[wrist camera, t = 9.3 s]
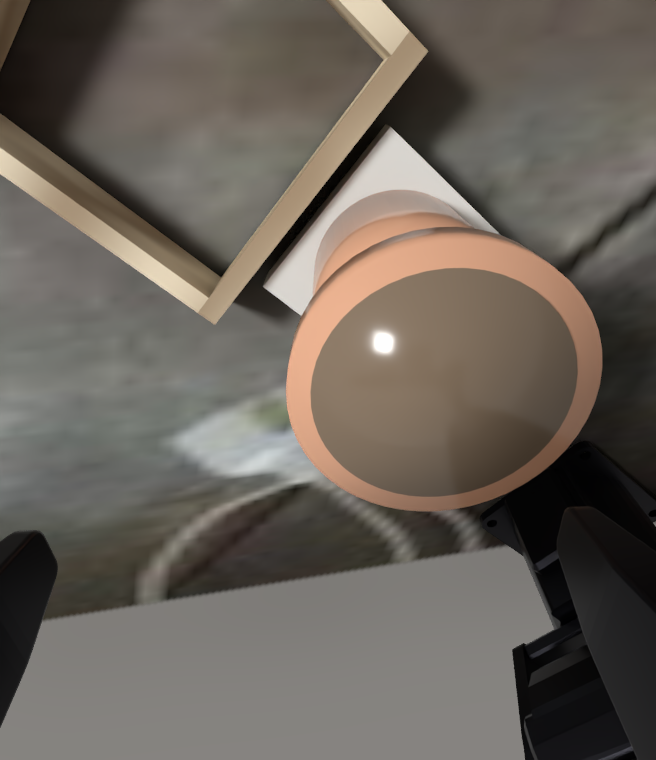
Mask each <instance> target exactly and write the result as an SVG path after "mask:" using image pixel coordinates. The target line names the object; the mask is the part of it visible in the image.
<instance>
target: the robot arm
mask: <svg viewBox="0 0 656 760" xmlns="http://www.w3.org/2000/svg"><path fill="white" fill-rule="evenodd" d="M586 451H587V452H586ZM583 452H586V453H585V454H582V455H581V453H583ZM490 520H492V521H490ZM654 521H656V499H655V498H654V497H652V496H651V495H650V494H649V493H648V492H647V491H645V490H644V489H643V488H642V487H641V486H640V485H638V484H637V483H636V482H635V481H634V480H633V479H631V478H630V477H629V476H628V475H627V474H626V473H624V472H623V471H622V470H621V469H620V468H619V467H617V466H616V465H615V464H614V463H613V462H612V461H610V460H609V459H608V458H607V457H606V456H605V455H603V454H602V453H601V452H600V451H599V450H598V449H596V448H595V447H594V446H593V445H592V444H590V443H588V442H579V443H577V444H575V445H574V446H573V447H571V448H570V449H569V450H567V451H566V452H564V453H563V454H562V455H560V456H559V457H558V458H557V459H556V460H555V461H554V462H553V463H552V464H551V465H550V466H549V467H547V468H546V469H545V470H544V471H542V472H541V473H540V474H539V475H537V476H536V477H534V478H533V479H531V480H530V481H528V482H527V483H525V484H523V485H522V486H520V487H518V488H516V489H515V490H513V491H512V492H511V493H509V494H508V495H507V496H505V497H504V498H503V499H501V500H500V501H499V502H497V503H496V504H494V505H493V506H492V507H490V508H489V509H488V510H486V511H485V512H484V513H483V514H482V515H481V516H480V522H481V525H482V527H483V528H484V529H485V530H486V531H488V532H489V533H491V534H492V535H494V536H495V537H496V538H498V539H499V540H501V541H502V542H504V543H505V544H507V545H508V546H509V547H511V548H513V549H514V550H515V551H517V552H518V553H520V554H521V555H522V556H524V558H525V561H526V563H527V565H528V568H529V570H530V572H531V575H532V577H533V579H534V582H535V584H536V586H537V589H538V591H539V594H540V596H541V598H542V601H543V603H544V606H545V608H546V610H547V613H548V615H549V617H550V620H551V622H552V625H553V627H554V630H552V631H551V632H549V633H547V634H545V635H543V636H541V637H539V638H538V639H536V640H534V641H532V642H530V643H528V644H524V643H523V644H521V645H519V646H517V647H516V648H514V649H513V650H512V652H513V661H514V669H515V678H516V688H517V697H518V706H519V715H520V724H521V733H522V740H523V745H524V753H525V760H656V527H655V525H654V524H653V522H654ZM57 570H58V566H57V561H56V559H55V556H54V554H53V552H52V550H51V548H50V546H49V544H48V542H47V540H46V538H45V536H44V534H43V533H42V532H40V531H37V530H29V531H17V532H14V533H12V534H10V535H9V536H7V537H6V538H4V539H3V540H2V541H0V727H1V725H2V723H3V720H4V718H5V716H6V713H7V711H8V709H9V707H10V704H11V702H12V699H13V697H14V695H15V693H16V690H17V688H18V686H19V683H20V681H21V678H22V676H23V674H24V671H25V669H26V667H27V664H28V661H29V659H30V656H31V653H32V650H33V647H34V644H35V641H36V638H37V635H38V632H39V629H40V626H41V623H42V620H43V616H44V613H45V610H46V607H47V604H48V601H49V598H50V595H51V592H52V589H53V586H54V583H55V579H56V576H57Z"/></svg>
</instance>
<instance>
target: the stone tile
mask: <svg viewBox="0 0 656 760" xmlns="http://www.w3.org/2000/svg"><path fill="white" fill-rule="evenodd" d="M389 190H413V191H419V192H422V193H426V194H429V195H431V196H433V197H436V198H438V199H440V200H441V201H443V202H444V203H446V204H447V205H449V206H450V207H451V208H452V209H453V210H455V211H456V212H457V213H458V214H459V215H460V216H461V217H462V218H464V219H465V220H466V221H467V222H468V223H469V224H470V225H471V226H473V227H474V228H475V229H480V230H484V231H488V232H492V233H496V234H499V233H498V232H497V231H496V230H495V229H494V228H493V227H492V226H491V225H490V224H489V223H488V222H487V221H486V220H485V219H484V218H483V217H482V216H481V215H480V214H479V213H478V212H477V211H476V210H475V209H474V208H473V207H472V206H471V205H470V204H469V203H468V202H467V201H466V200H465V199H464V198H463V197H461V196H460V195H459V194H458V193H457V192H456V191H455V190H454V189H453V188H452V187H451V186H450V185H449V184H448V183H447V182H446V181H445V180H444V179H443V178H442V177H441V176H440V175H439V174H438V173H437V172H436V171H435V170H434V169H433V168H432V167H431V166H430V165H429V164H428V163H427V162H426V161H425V160H424V159H423V158H422V157H421V156H420V155H419V154H418V153H417V152H416V151H415V150H414V149H413V148H412V147H411V146H410V145H409V144H408V143H407V142H406V141H405V140H404V139H403V138H402V137H400V136H399V135H398V134H397V133H396V132H395V131H394V130H393V129H392V128H391V127H390V126H388V125H386V124H385V126H384V127H383V128H382V129H381V131H380V132H379V133H378V135H377V136H376V137H375V138H374V140H373V141H372V142H371V143H370V145H369V146H368V147H367V148H366V150H365V151H364V152H363V153H362V155H361V156H360V157H359V158H358V160H357V161H356V162H355V164H354V165H353V166H352V167H351V169H350V170H349V171H348V172H347V174H346V175H345V176H344V177H343V179H342V180H341V181H340V182H339V184H338V185H337V186H336V187H335V189H334V190H333V191H332V193H331V194H330V195H329V196H328V198H327V199H326V200H325V201H324V203H323V204H322V205H321V206H320V208H319V209H318V210H317V211H316V213H315V214H314V215H313V216H312V218H311V219H310V220H309V222H308V223H307V224H306V225H305V227H304V228H303V229H302V230H301V232H300V233H299V234H298V235H297V237H296V238H295V239H294V240H293V242H292V243H291V244H290V245H289V247H288V248H287V249H286V251H285V252H284V253H283V254H282V256H281V257H280V258H279V259H278V261H277V262H276V263H275V264H274V266H273V267H272V268H271V269H270V271H269V272H268V273H267V276H266V279H265V282H264V285H263V287H264V288H265V289H267V290H268V291H269V292H270V293H272V294H273V295H274V296H276V297H277V298H278V299H280V300H281V301H282V302H284V303H285V304H286V305H288V306H289V307H290V308H292V309H293V310H294V311H295V312H297V313H298V314H299V315H301V316H302V314H303V312H304V311H305V309H306V307H307V305H308V303H309V302H310V300H311V299H312V293H313V278H314V266H315V259H316V255H317V251H318V248H319V246H320V243H321V240H322V239H323V237H324V235H325V233H326V231H327V230H328V228H329V227H330V226H331V224H332V223H333V221H334V220H335V219H336V218H337V217H338V216H339V215H340V214H341V213H342V212H343V211H345V210H346V209H347V208H348V207H349V206H351V205H353V204H354V203H356V202H357V201H359V200H361V199H363V198H365V197H367V196H370V195H372V194H376V193H379V192H383V191H389ZM499 235H500V234H499Z"/></svg>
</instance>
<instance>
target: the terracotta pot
mask: <svg viewBox="0 0 656 760" xmlns="http://www.w3.org/2000/svg"><path fill="white" fill-rule="evenodd" d="M601 374H602V345H601V340H600V334H599V330H598V327H597V324H596V322H595V319H594V316H593V313H592V311H591V310H590V308H589V306H588V304H587V303H586V301H585V299H584V298H583V296H582V295H581V294H580V292H579V291H578V290H577V289H576V288H575V286H574V285H573V284H572V283H571V281H569V280H568V279H567V278H566V277H565V276H564V275H563V274H561V273H560V272H559V271H558V270H557V269H556V268H554V267H553V266H552V265H550V264H549V263H548V262H546V261H545V260H544V259H542V258H541V257H540V256H538V255H537V254H536V253H534V252H533V251H531V250H529V249H528V248H526V247H525V246H523V245H521V244H520V243H518V242H516V241H514V240H511V239H509V238H506V237H504V236H502V235H499V234H496V233H492V232H488V231H484V230H480V229H475V228H474V227H473V226H471V225H470V224H469V223H468V222H467V221H466V220H465V219H464V218H462V217H461V216H460V215H459V214H458V213H457V212H456V211H455V210H453V209H452V208H451V207H450V206H449V205H447V204H446V203H444V202H443V201H441V200H440V199H438V198H436V197H433V196H431V195H429V194H426V193H422V192H419V191H413V190H389V191H383V192H379V193H376V194H372V195H370V196H367V197H365V198H363V199H361V200H359V201H357V202H356V203H354V204H353V205H351V206H349V207H348V208H347V209H346V210H345V211H343V212H342V213H341V214H340V215H339V216H338V217H337V218H336V219H335V220H334V221H333V223H332V224H331V226H330V227H329V228H328V230H327V231H326V233H325V235H324V237H323V239H322V240H321V243H320V246H319V248H318V251H317V255H316V259H315V266H314V278H313V293H312V299H311V300H310V302H309V303H308V305H307V307H306V309H305V311H304V312H303V314H302V316H301V318H300V321H299V323H298V326H297V329H296V331H295V334H294V338H293V342H292V347H291V351H290V358H289V365H288V373H287V385H286V397H287V409H288V413H289V418H290V422H291V426H292V428H293V431H294V433H295V436H296V438H297V440H298V442H299V444H300V445H301V447H302V449H303V451H304V452H305V454H306V455H307V457H308V458H309V459H310V460H311V462H312V463H313V464H314V465H315V467H316V468H317V469H318V470H320V471H321V472H322V473H323V474H324V475H325V476H326V477H327V478H328V479H329V480H331V481H332V482H334V483H335V484H336V485H338V486H339V487H340V488H342V489H344V490H346V491H347V492H349V493H351V494H353V495H355V496H357V497H359V498H362V499H364V500H366V501H369V502H372V503H375V504H378V505H382V506H385V507H390V508H396V509H401V510H411V511H442V510H451V509H458V508H463V507H468V506H472V505H476V504H479V503H482V502H486V501H489V500H492V499H494V498H497V497H499V496H501V495H504V494H506V493H508V492H510V491H512V490H514V489H516V488H518V487H520V486H522V485H523V484H525V483H527V482H528V481H530V480H531V479H533V478H534V477H536V476H537V475H539V474H540V473H541V472H542V471H544V470H545V469H546V468H547V467H549V466H550V465H551V464H552V463H553V462H554V461H555V460H556V459H557V458H558V457H559V456H560V455H561V454H562V453H563V452H564V451H565V450H566V449H567V448H568V447H569V445H570V444H571V443H572V442H573V440H574V439H575V438H576V436H577V435H578V434H579V432H580V430H581V429H582V427H583V426H584V424H585V422H586V421H587V419H588V417H589V414H590V412H591V410H592V408H593V405H594V403H595V400H596V397H597V393H598V390H599V386H600V381H601Z"/></svg>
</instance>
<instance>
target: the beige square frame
mask: <svg viewBox="0 0 656 760" xmlns="http://www.w3.org/2000/svg"><path fill="white" fill-rule="evenodd" d="M326 1H327V2H328V3H329V4H330V5H331V6H332V7H333V8H334V9H335V10H336V11H337V12H338V13H339V14H340V15H341V16H342V17H343V18H344V19H345V21H346V22H347V23H348V24H349V25H350V26H351V27H352V28H353V29H354V30H355V31H356V32H357V33H358V34H359V35H360V36H361V37H362V38H363V39H364V40H365V41H366V42H367V43H368V44H369V45H370V46H371V47H372V48H373V49H374V51H375V52H376V53H377V54H378V55H379V56H380V57H381V58H382V59H383V62H382V63H381V64H380V66H379V67H378V68H377V70H376V71H375V72H374V74H373V75H372V76H371V78H370V79H369V80H368V82H367V83H366V84H365V86H364V87H363V89H362V90H361V91H360V93H359V94H358V95H357V97H356V98H355V99H354V101H353V102H352V103H351V105H350V106H349V107H348V109H347V110H346V111H345V113H344V114H343V115H342V117H341V118H340V119H339V121H338V122H337V123H336V125H335V126H334V127H333V129H332V130H331V131H330V133H329V134H328V135H327V137H326V138H325V139H324V141H323V142H322V143H321V145H320V146H319V147H318V149H317V150H316V151H315V153H314V154H313V155H312V157H311V158H310V159H309V161H308V162H307V163H306V165H305V166H304V167H303V169H302V170H301V171H300V173H299V174H298V175H297V177H296V178H295V179H294V181H293V182H292V183H291V185H290V186H289V187H288V189H287V190H286V191H285V193H284V194H283V195H282V197H281V198H280V199H279V201H278V202H277V203H276V205H275V206H274V207H273V209H272V210H271V211H270V213H269V214H268V215H267V217H266V218H265V219H264V221H263V222H262V223H261V225H260V226H259V227H258V229H257V230H256V231H255V233H254V234H253V235H252V237H251V238H250V239H249V241H248V242H247V243H246V245H245V246H244V247H243V249H242V250H241V251H240V253H239V254H238V255H237V257H236V258H235V260H234V261H233V262H232V264H231V265H230V266H229V268H228V269H227V270H226V272H225V273H224V274H223V276H222V277H220V276H219V275H217V274H216V273H214V272H213V271H212V270H210V269H209V268H208V267H206V266H205V265H204V264H202V263H201V262H200V261H198V260H197V259H196V258H194V257H193V256H192V255H190V254H189V253H188V252H186V251H185V250H184V249H182V248H181V247H179V246H178V245H177V244H175V243H174V242H173V241H171V240H170V239H169V238H167V237H166V236H165V235H163V234H162V233H161V232H159V231H158V230H157V229H155V228H154V227H153V226H151V225H150V224H149V223H147V222H146V221H145V220H143V219H142V218H140V217H139V216H138V215H136V214H135V213H134V212H132V211H131V210H130V209H128V208H127V207H126V206H124V205H123V204H122V203H120V202H119V201H118V200H116V199H115V198H114V197H112V196H111V195H110V194H108V193H107V192H105V191H104V190H103V189H101V188H100V187H99V186H97V185H96V184H95V183H93V182H92V181H91V180H89V179H88V178H87V177H85V176H84V175H83V174H81V173H80V172H79V171H77V170H76V169H75V168H73V167H72V166H70V165H69V164H68V163H66V162H65V161H64V160H62V159H61V158H60V157H58V156H57V155H56V154H54V153H53V152H52V151H50V150H49V149H48V148H46V147H45V146H44V145H42V144H41V143H40V142H38V141H37V140H36V139H34V138H33V137H31V136H30V135H29V134H27V133H26V132H25V131H23V130H22V129H21V128H19V127H18V126H17V125H15V124H14V123H13V122H11V121H10V120H9V119H7V118H6V117H5V116H3V115H2V114H1V113H0V174H1V175H3V176H4V177H5V178H7V179H8V180H10V181H11V182H13V183H14V184H15V185H17V186H18V187H20V188H21V189H22V190H24V191H25V192H27V193H28V194H30V195H31V196H32V197H34V198H35V199H37V200H38V201H40V202H41V203H42V204H44V205H45V206H47V207H48V208H49V209H51V210H52V211H54V212H55V213H57V214H58V215H59V216H61V217H62V218H64V219H65V220H67V221H68V222H69V223H71V224H72V225H74V226H75V227H76V228H78V229H79V230H81V231H82V232H84V233H85V234H86V235H88V236H89V237H91V238H92V239H94V240H95V241H96V242H98V243H99V244H101V245H102V246H103V247H105V248H106V249H108V250H109V251H111V252H112V253H113V254H115V255H116V256H118V257H119V258H121V259H122V260H123V261H125V262H126V263H128V264H129V265H130V266H132V267H133V268H135V269H136V270H138V271H139V272H140V273H142V274H143V275H145V276H146V277H148V278H149V279H150V280H152V281H153V282H155V283H156V284H157V285H159V286H160V287H162V288H163V289H165V290H166V291H167V292H169V293H170V294H172V295H173V296H175V297H176V298H177V299H179V300H180V301H182V302H183V303H184V304H186V305H187V306H189V307H190V308H192V309H193V310H194V311H196V312H197V313H199V314H200V315H202V316H203V317H204V318H206V319H207V320H209V321H210V322H211V323H213V324H214V325H215V324H216V323H217V321H218V320H219V319H220V318H221V316H222V315H223V314H224V312H225V311H226V310H227V309H228V307H229V306H230V305H231V303H232V302H233V301H234V300H235V298H236V297H237V296H238V294H239V293H240V292H241V291H242V289H243V288H244V287H245V285H246V284H247V283H248V282H249V280H250V279H251V278H252V276H253V275H254V274H255V273H256V271H257V270H258V269H259V268H260V266H261V265H262V264H263V262H264V261H265V260H266V259H267V257H268V256H269V255H270V253H271V252H272V251H273V250H274V248H275V247H276V246H277V244H278V243H279V242H280V241H281V239H282V238H283V237H284V235H285V234H286V233H287V232H288V230H289V229H290V228H291V227H292V225H293V224H294V223H295V221H296V220H297V219H298V218H299V216H300V215H301V214H302V212H303V211H304V210H305V209H306V207H307V206H308V205H309V203H310V202H311V201H312V200H313V198H314V197H315V196H316V194H317V193H318V192H319V191H320V189H321V188H322V187H323V185H324V184H325V183H326V182H327V180H328V179H329V178H330V177H331V175H332V174H333V173H334V171H335V170H336V169H337V168H338V166H339V165H340V164H341V162H342V161H343V160H344V159H345V157H346V156H347V155H348V153H349V152H350V151H351V150H352V148H353V147H354V146H355V144H356V143H357V142H358V141H359V139H360V138H361V137H362V136H363V134H364V133H365V132H366V130H367V129H368V128H369V127H370V125H371V124H372V123H373V121H374V120H375V119H376V118H377V116H378V115H379V114H380V112H381V111H382V110H383V109H384V107H385V106H386V105H387V103H388V102H389V101H390V100H391V98H392V97H393V96H394V94H395V93H396V92H397V91H398V89H399V88H400V87H401V86H402V84H403V83H404V82H405V80H406V79H407V78H408V77H409V75H410V74H411V73H412V71H413V70H414V69H415V68H416V66H417V65H418V64H419V62H420V61H421V60H422V59H423V57H424V56H425V55H426V53H427V52H428V50H427V49H426V48H425V47H424V46H423V45H422V44H421V43H420V42H419V41H418V40H417V38H416V37H415V36H414V35H413V34H412V33H411V32H410V31H409V30H408V29H407V28H406V27H405V25H404V24H403V23H402V22H401V21H400V20H399V19H398V18H397V17H396V16H395V15H394V14H393V12H392V11H391V10H390V9H389V8H388V7H387V6H386V5H385V4H384V3H383V2H382V1H381V0H326ZM29 3H30V0H0V70H1V68H2V66H3V63H4V61H5V59H6V56H7V54H8V52H9V49H10V47H11V45H12V42H13V40H14V38H15V35H16V33H17V31H18V28H19V26H20V24H21V21H22V19H23V17H24V14H25V12H26V10H27V7H28V5H29Z"/></svg>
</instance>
